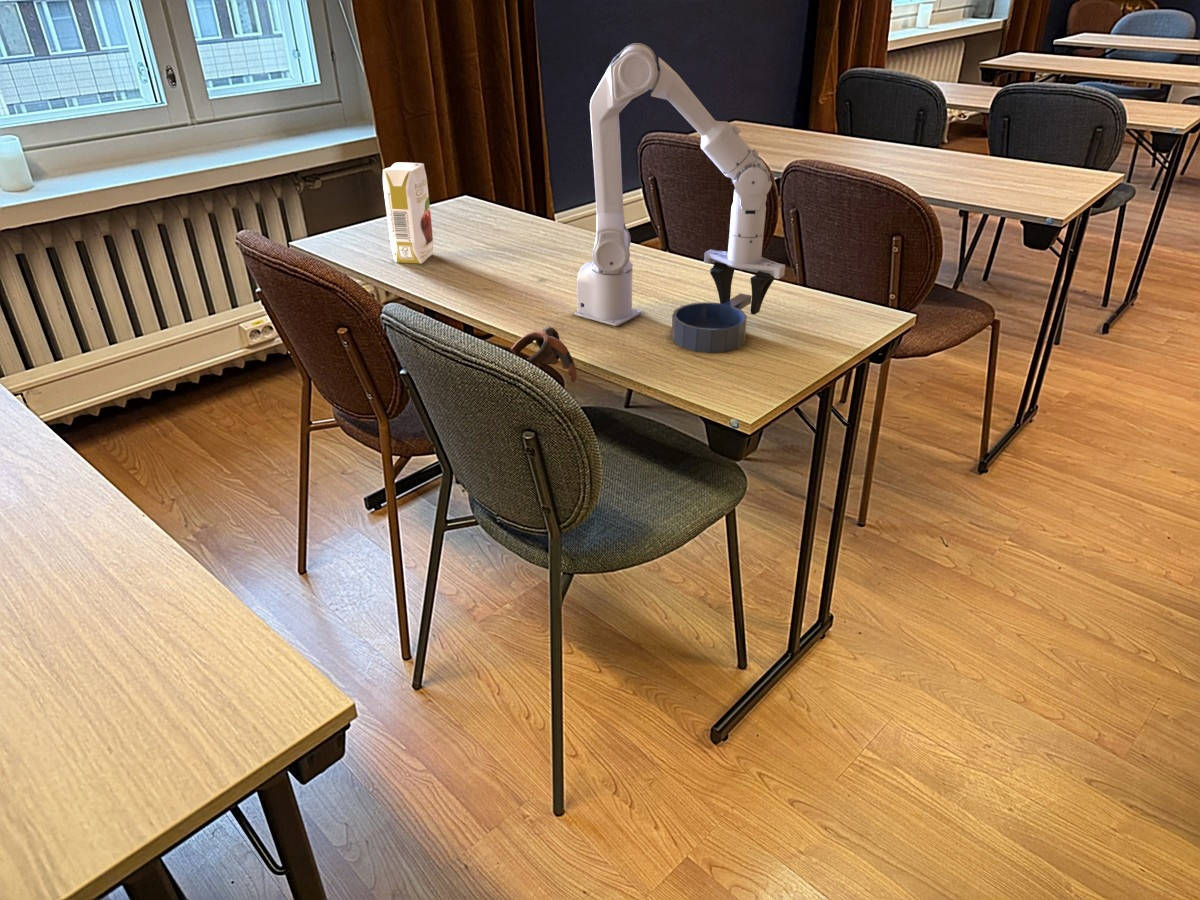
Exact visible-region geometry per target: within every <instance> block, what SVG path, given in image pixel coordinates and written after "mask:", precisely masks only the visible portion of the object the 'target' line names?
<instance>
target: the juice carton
mask: <svg viewBox="0 0 1200 900" xmlns="http://www.w3.org/2000/svg"><path fill="white" fill-rule="evenodd" d="M425 168H426V167H425V163H423V162H407V161H405V162H404V161H403V162H401V161H399V162H394V163H393V164H392V165H391V166H390V167H386V168H384V169H382V187H383V194H384V195H383V196H384V203H385V210H386V219H387V225H388V234H389V242H390V248H391V253H392V256H393V260H394V262H395V263H404V264H424V263H425V261H426V260H427V259H429V258H430V257H431V256H432V255H433V253H434V235H433V223H432V214H431V213H432V212H431V205H430V197H429V195H430V194H429V187H428V186H429V185H428V178H427V173H426V169H425Z"/></svg>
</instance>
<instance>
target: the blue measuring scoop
mask: <svg viewBox="0 0 1200 900" xmlns="http://www.w3.org/2000/svg"><path fill="white" fill-rule="evenodd" d="M751 301H752V295H750V294H746V293H742V292H741V293H738V294H737V295H735V296H734V297H731V298H730V300H729V301H727V302H725V303H724V304H721V303H720V302H709V301H708V302H705V301H704V302H693V303H689V304H684V305H681V306H679V307H677V308H676V309H674V311H673V313H672V315H671V335H670V336H671V339H672V341H673V342H674V344H676V345H677V346H679V347H681V348H683V349H686V350H689V351H693V352H697V353H708V354H709V353H710V354H711V353H712V354H713V353H714V354H715V353H726V352H729V351H734V350H737V349H738V348H740V347H741V346H742V345H744V344H745V340H746V332H747V321H748V316H747V314H746V313H745V312H744V310H742V309H744V308H746V307H747V306H749V305H751Z"/></svg>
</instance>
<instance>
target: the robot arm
mask: <svg viewBox="0 0 1200 900" xmlns="http://www.w3.org/2000/svg"><path fill="white" fill-rule="evenodd" d="M649 90H650V97H653V98H656V99H662V100H666V101H668V102H669V103H670V104H671V105H672V106H673V107H674V108H675V110H677V112H678V113H679V114H680V115H682V117H683V118H684V119H685V120H686V121H687V122H688V124H689V125H691V127H692V128H693V129H694V130H695V131H696V132H697V133H698V134H699V136H700V149H701V151H702V152H703V153H705V155H706V156H707V157H708V158H709V159H710V161H711V162H712V163H713V164H714V165H715V166H716V167H717V169H718V170H719V171H720V172H721V173H722V174H723V175H724V176H725V177H726V178H728V179H731V182H732V184H733V185H734V189H733V197H732V198H733V199H732V200H733V201H732V204H731V209H730V222H729V234H728V244H727V245H728V246H727V251H724V250H716V249H709V250H708V249H707V251H705V252H704V256H703V257H704V259H703V263H704V264H709V265H710V264H713V265H712V267H711V268H710V269H709V274H710V276H711V277H712V279H713V282H714V284H715V286H716V290H717V294H718V300H719V303H721V304H724V303H725V302H727V301H729V300H730V299H731V296H732V284H733V279H734V278H733V277H734V273H735V270H736V269H737V270H743V271H747V272H752V273H756V274H754V275H753V276H751V277H750V286H751V303H750V314H751V315H753V316H754V315H757V314H758V313H759V312H760V311H761V307H762V304H763V301H764V299H765V296H766V295H767V292H768V291H769V289H770V287H771V286H772V283H773V282H774V280H775V279H776V280H779V279H781V278H783V277H785V271H786V264H783V263H778V262H776V261H773V260H770V259H768V258H765V257H763V256H762V253H763V246H764V245H763V244H764V233H765V224H766V213H767V206H766V204H767V203H766V202H767V197H768V196H767V195H768V194H769V192H770V190H771V188H772V186H773V185H772V184H773V182H772V178H771V173H770V171H769V170H768V167H767V166H766V163H765V162H764V161H763V158H762V157H760V156H759V152H758V151H757V150H756V149H755V148H754V149H752V148H751V147H750V146H749V145H748V143H746V141H745V139H743V137H742V136H741V135H740V133H741V130H740V128H739V127H738V126H737V124H733V125H731V123H730V122H729V121H725V120H723V121H720V120H715V118H714V117H713V116H712V114H711V113H710V112H709V111H708V109H706V107H705V106H704V105H703V104H702V102H701V101H700V100H699V98H698V97H697V96H696V94H695V93H694V92H693V91H692V90H691V89H690V87H689V86H688V85H687V84H686V83H685V81H684V80H683V79H682V77H681V76H680V75H679V74H678V73H677V72H676V71H675V70H674V69H673V68H672V67H671V66H670V65H669V64H668V63H667V62H665V60H663V59H662V58H661V57H660V56H658V62H657V56H656V54H655V52H654V51H653V49H652V48H650V47H649V46H648V45H646V44H643V43H640V42H638V43H637V42H635V43H631V44H628V45H627V46H625V47H624V48H623V49H622V50H621V51H620V52H619V53H617V54H616V55H615V56H614V57H613V58H612V60H611V61H610V63H609V65H608V67H607V68H606V70H605V73H604V74H603V76H602V77H601V80H600V81H599V82H598V85H597V87H596V89H595V90H594V92H593V94H592V96H591V98H590V102H589V113H590V114H589V115H590V130H591V144H592V145H591V146H592V160H593V161H592V163H593V177H594V190H595V191H594V192H595V195H594V196H595V210H596V233H595V237H594V245H593V249H592V253H591V255H592V261H588V262H585V263H584V264H583V265H581V267H580V269H579V271H578V274H577V277H576V278H577V279H576V308H577V309H576V311H575V312H574V315H575V316H578V317H581V318H584V319H588V320H592V321H596V322H599V323H602V324H606V325H608V326H609V325H610V326H613V327H619V326H620V325H623V324H624V323H626V322H628V321H630V320H632V319H634V318H635V317H638V316H639V315H642V310H640V309H637V308H633V267H634V266H633V263H632V261H630V258H631V256H630V255H631V252H630V247H631V243H632V238H631V234H630V231H629V230H628V228H627V226H626V223H625V212H624V211H625V210H624V195H623V194H624V193H623V174H622V172H623V171H622V152H621V151H622V149H621V133H620V131H621V129H620V128H621V127H620V113H621V112H622V111H623V109H625V107H627V106H628V104H629V103H630V102H631V101H632V100H633V99H635V98H637V97H639V96H641V95H643V94H644V93H646V92H648V91H649Z"/></svg>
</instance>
